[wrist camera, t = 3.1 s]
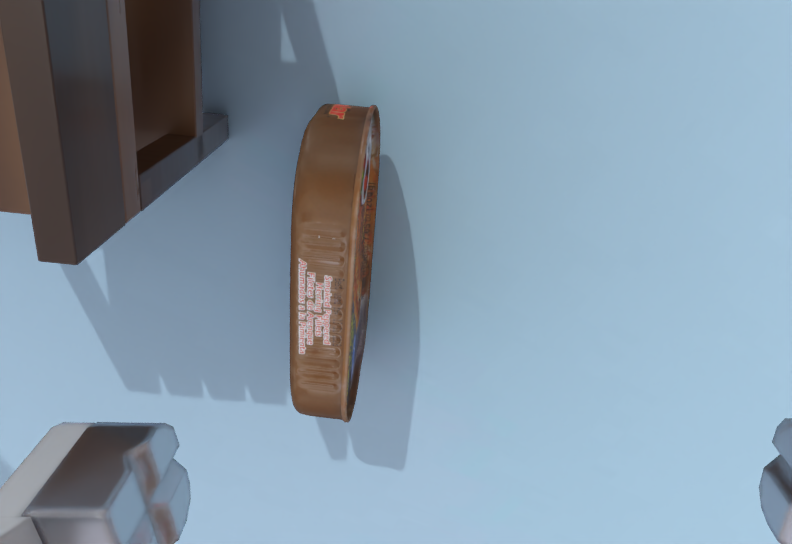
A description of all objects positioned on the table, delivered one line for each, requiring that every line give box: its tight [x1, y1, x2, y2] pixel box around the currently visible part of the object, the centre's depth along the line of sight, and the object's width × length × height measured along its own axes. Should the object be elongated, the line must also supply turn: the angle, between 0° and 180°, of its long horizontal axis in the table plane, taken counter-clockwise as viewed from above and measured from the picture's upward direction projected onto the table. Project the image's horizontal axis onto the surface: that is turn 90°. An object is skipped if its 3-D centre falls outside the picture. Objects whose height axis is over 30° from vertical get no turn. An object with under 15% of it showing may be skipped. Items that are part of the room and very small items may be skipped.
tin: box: [290, 104, 380, 422], centre depth 27 cm, size 15×3×8 cm, turn 175°
